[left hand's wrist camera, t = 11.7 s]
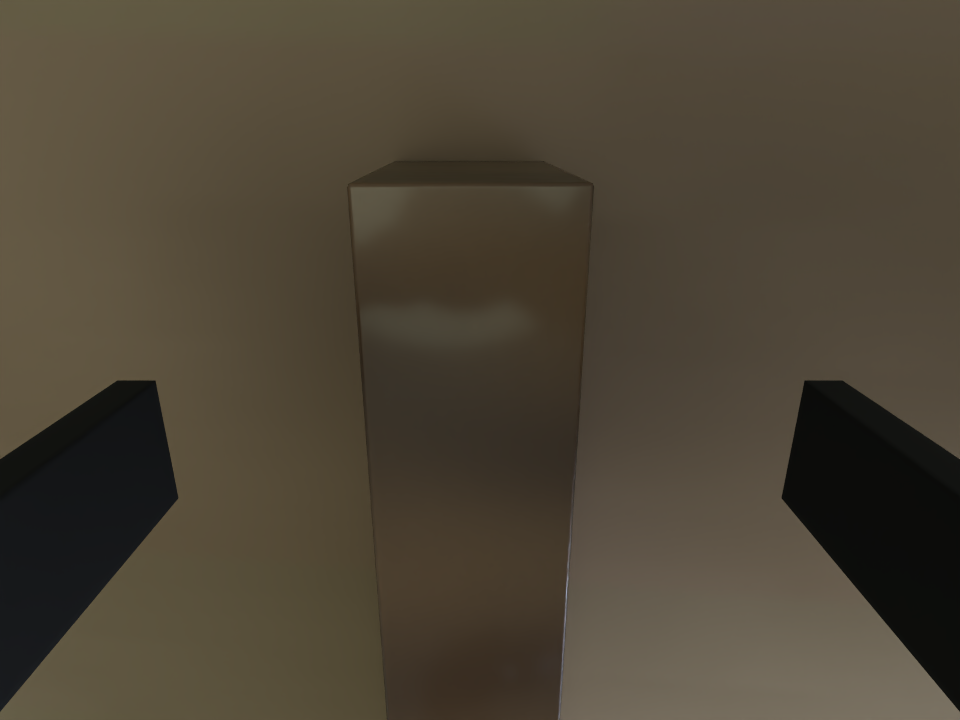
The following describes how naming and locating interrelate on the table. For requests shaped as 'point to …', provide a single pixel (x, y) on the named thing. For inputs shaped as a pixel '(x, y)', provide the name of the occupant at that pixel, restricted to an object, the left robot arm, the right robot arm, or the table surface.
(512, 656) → the block
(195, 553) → the table surface
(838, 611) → the table surface
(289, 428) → the table surface
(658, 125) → the table surface
